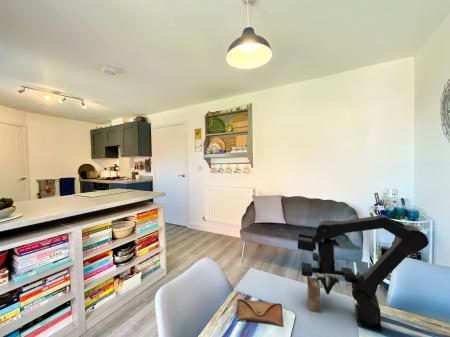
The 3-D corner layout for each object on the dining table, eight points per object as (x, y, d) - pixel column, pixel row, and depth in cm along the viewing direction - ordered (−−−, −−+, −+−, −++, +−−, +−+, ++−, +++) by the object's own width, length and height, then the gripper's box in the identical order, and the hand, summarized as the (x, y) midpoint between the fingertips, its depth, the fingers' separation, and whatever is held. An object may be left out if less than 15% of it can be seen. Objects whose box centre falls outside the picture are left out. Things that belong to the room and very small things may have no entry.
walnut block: (318, 302, 79) (317, 277, 79) (320, 312, 73) (320, 286, 73) (307, 300, 80) (307, 276, 80) (309, 310, 74) (308, 284, 74)
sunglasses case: (234, 321, 70) (235, 299, 73) (236, 318, 76) (237, 298, 79) (285, 327, 67) (283, 304, 70) (283, 323, 73) (282, 302, 76)
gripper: (347, 248, 80) (348, 285, 80) (299, 243, 85) (300, 278, 85) (356, 260, 69) (357, 303, 69) (301, 254, 75) (302, 294, 75)
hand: (327, 293), depth 75 cm, fingers closed
